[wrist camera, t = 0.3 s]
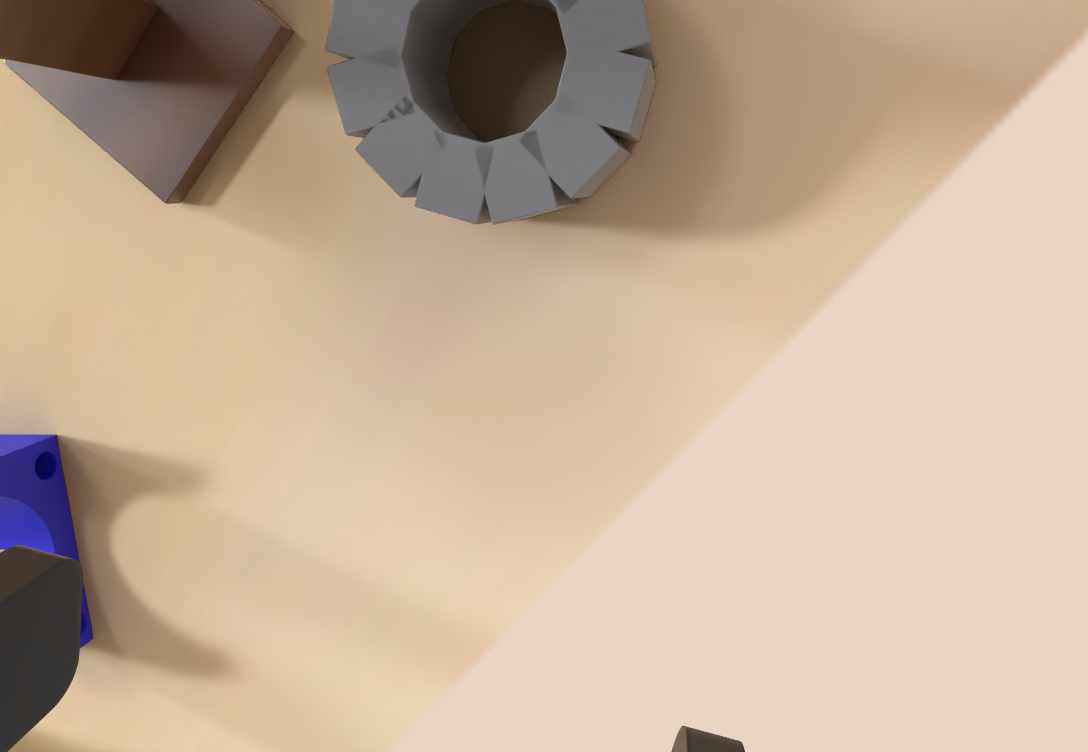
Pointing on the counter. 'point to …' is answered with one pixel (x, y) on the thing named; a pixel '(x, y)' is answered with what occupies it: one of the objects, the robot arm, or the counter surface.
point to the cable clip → (37, 503)
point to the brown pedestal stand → (145, 74)
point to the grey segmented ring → (450, 145)
